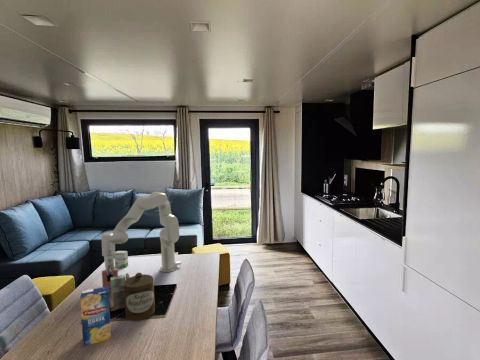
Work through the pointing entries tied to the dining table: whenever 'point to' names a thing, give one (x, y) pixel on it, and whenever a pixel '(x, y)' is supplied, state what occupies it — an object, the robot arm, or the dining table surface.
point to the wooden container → (139, 297)
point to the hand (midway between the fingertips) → (109, 278)
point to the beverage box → (95, 315)
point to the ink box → (121, 259)
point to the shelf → (117, 292)
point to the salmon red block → (104, 277)
